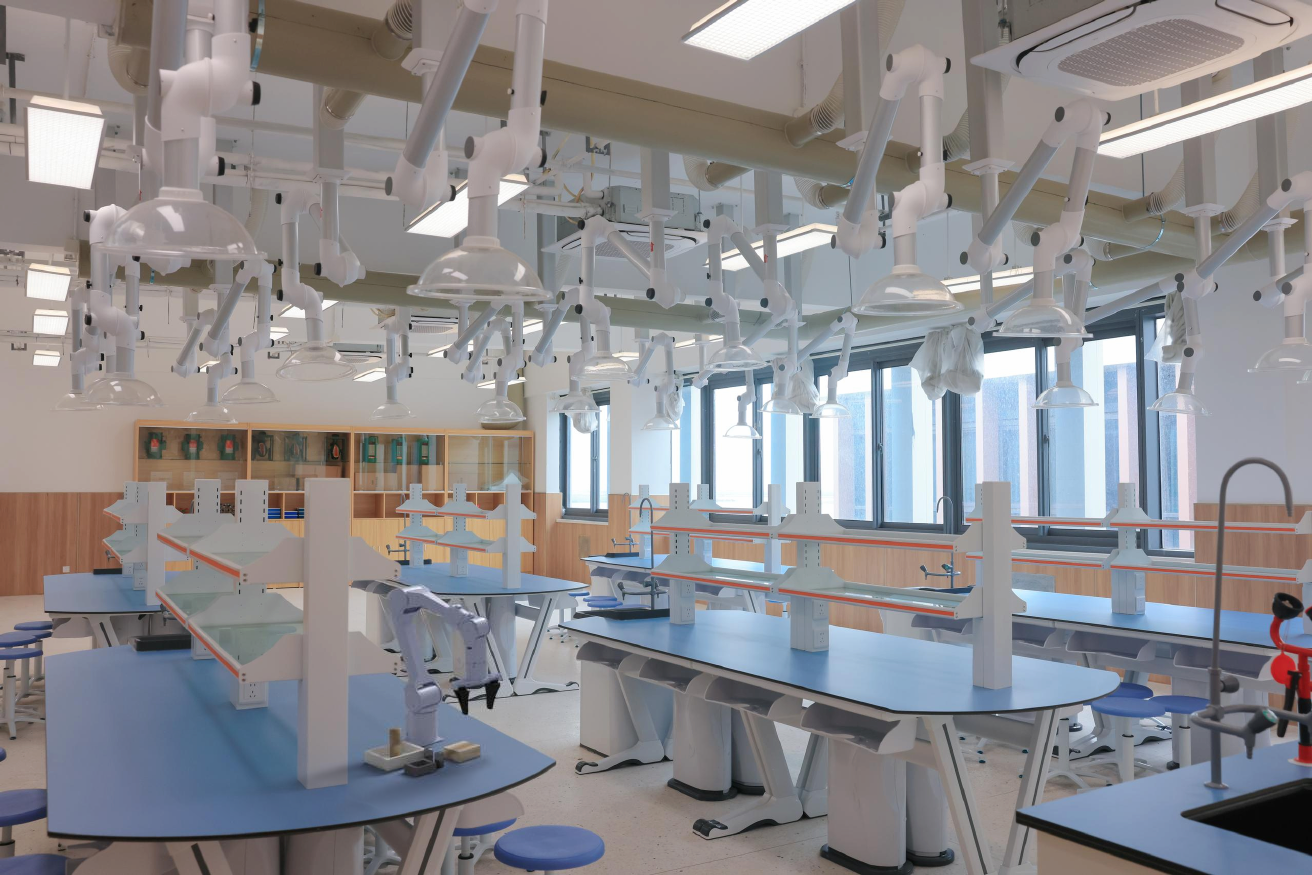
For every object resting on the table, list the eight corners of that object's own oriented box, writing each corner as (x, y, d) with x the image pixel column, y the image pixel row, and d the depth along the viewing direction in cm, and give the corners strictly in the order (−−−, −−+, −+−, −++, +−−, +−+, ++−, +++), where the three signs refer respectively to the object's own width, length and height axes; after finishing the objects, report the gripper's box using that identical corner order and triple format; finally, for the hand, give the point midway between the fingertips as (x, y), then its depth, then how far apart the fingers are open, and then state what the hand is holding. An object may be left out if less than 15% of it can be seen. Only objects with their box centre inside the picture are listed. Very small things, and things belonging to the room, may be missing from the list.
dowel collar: (404, 771, 243) (404, 763, 243) (424, 765, 248) (423, 758, 248) (416, 776, 239) (416, 768, 239) (436, 770, 243) (436, 762, 243)
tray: (364, 762, 252) (364, 750, 252) (403, 751, 260) (403, 740, 260) (387, 771, 244) (387, 759, 244) (426, 760, 252) (426, 749, 252)
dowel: (388, 761, 250) (388, 730, 250) (391, 757, 253) (391, 727, 253) (400, 760, 250) (399, 730, 250) (402, 757, 253) (402, 726, 253)
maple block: (443, 758, 254) (443, 747, 254) (464, 751, 260) (464, 740, 260) (459, 763, 250) (459, 751, 250) (480, 756, 255) (480, 745, 255)
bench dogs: (422, 762, 250) (422, 749, 250) (430, 760, 252) (429, 746, 252) (437, 768, 245) (437, 754, 245) (445, 765, 247) (445, 752, 247)
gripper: (459, 668, 253) (461, 719, 252) (506, 659, 262) (508, 708, 262) (447, 664, 258) (448, 714, 258) (493, 655, 267) (494, 704, 267)
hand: (477, 711), depth 260 cm, fingers open, 7 cm apart
